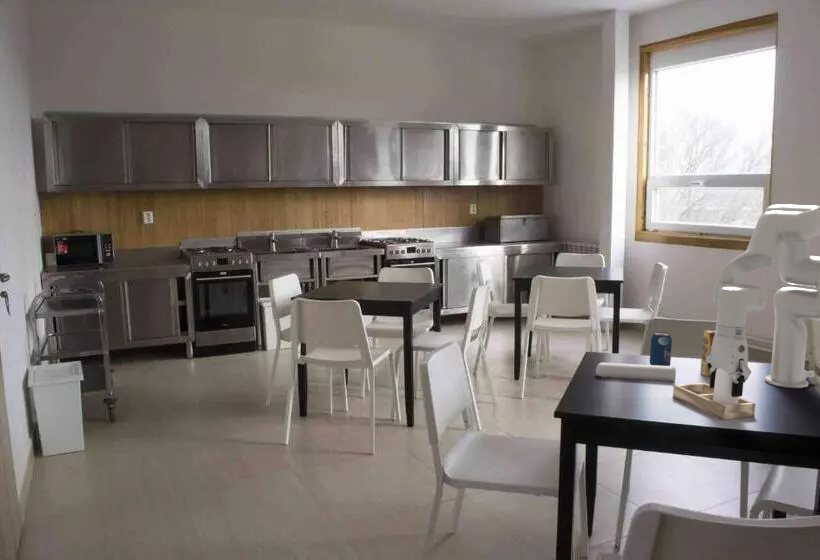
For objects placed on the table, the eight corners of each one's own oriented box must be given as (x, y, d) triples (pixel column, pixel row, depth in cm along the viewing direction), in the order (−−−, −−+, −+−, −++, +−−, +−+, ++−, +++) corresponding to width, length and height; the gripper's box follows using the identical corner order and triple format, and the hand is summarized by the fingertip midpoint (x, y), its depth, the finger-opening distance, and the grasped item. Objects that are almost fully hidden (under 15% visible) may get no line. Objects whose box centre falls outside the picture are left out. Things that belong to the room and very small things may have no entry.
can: (739, 412, 197) (744, 371, 196) (715, 410, 199) (719, 368, 197) (733, 405, 204) (738, 365, 202) (710, 403, 205) (714, 363, 203)
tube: (596, 367, 234) (676, 371, 229) (595, 358, 239) (674, 362, 233) (595, 380, 236) (674, 385, 231) (595, 371, 241) (672, 376, 236)
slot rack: (703, 394, 217) (704, 382, 217) (754, 416, 197) (755, 403, 197) (672, 397, 214) (673, 385, 214) (721, 419, 194) (722, 406, 194)
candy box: (705, 376, 238) (708, 332, 236) (699, 373, 242) (702, 329, 240) (731, 376, 238) (734, 332, 236) (725, 373, 243) (728, 329, 241)
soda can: (669, 370, 246) (671, 336, 244) (648, 367, 249) (650, 334, 247) (671, 365, 252) (673, 332, 250) (650, 363, 255) (652, 330, 253)
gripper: (764, 337, 191) (759, 400, 193) (719, 324, 207) (715, 382, 210) (741, 338, 189) (736, 402, 191) (698, 325, 205) (693, 384, 208)
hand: (725, 391), depth 200 cm, fingers open, 8 cm apart
